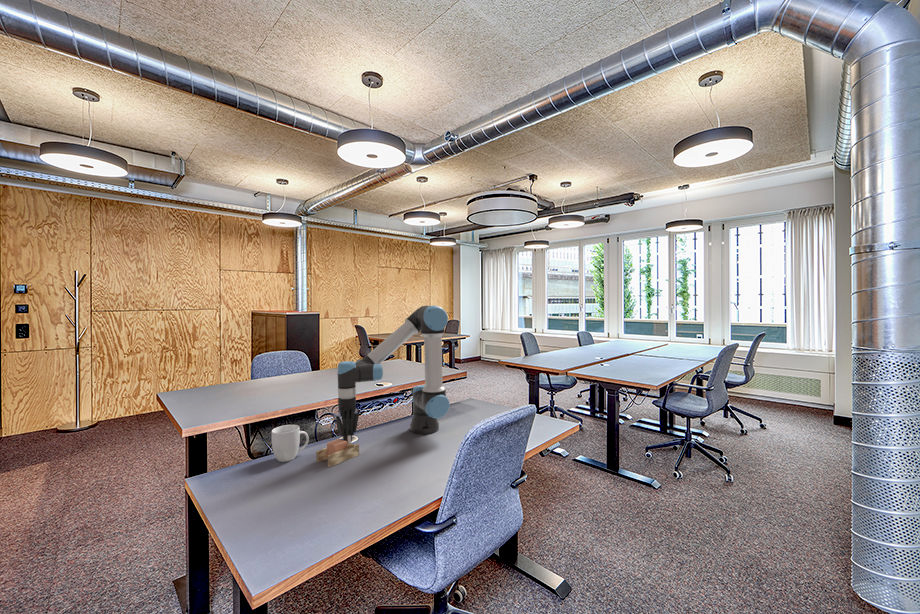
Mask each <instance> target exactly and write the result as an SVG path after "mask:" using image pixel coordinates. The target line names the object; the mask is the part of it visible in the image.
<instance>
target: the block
mask: <svg viewBox="0 0 920 614" xmlns="http://www.w3.org/2000/svg"><path fill="white" fill-rule="evenodd" d="M346 445H348V443H347V441H344V440H343V439H341V438H337V439H334V440H331V441H329V442H327V443H326V447H327V459H326V460H328V455H331V454H333V453H336V452H338V451H341V450H343V449H346Z"/></svg>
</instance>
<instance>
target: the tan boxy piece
mask: <svg viewBox="0 0 920 614" xmlns="http://www.w3.org/2000/svg"><path fill="white" fill-rule="evenodd" d="M359 455H360V444H359V443H356V444H354V443H352V442H351V444H349V445H346V449H343V450H341V451H338V452H336V453H333V454H331V455H328V459H327V446H326V447H324V448H321V449H319V450H316V451H315V457H316V459H315V461H316V463H320V462H323V461H325V460H327V468H331V467H334V466H336V465H338V464H341V463H343V462H346V461H348V460H350V459H353V458H354V457H358V456H359Z"/></svg>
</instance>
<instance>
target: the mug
mask: <svg viewBox="0 0 920 614" xmlns="http://www.w3.org/2000/svg"><path fill="white" fill-rule="evenodd" d="M300 429H301V428H300V425H298V424H285V425H280V426H278V427H274V428H273V429H272V430H271V448H272V452H273V456H274V457H275V458H276V460H277V461H278V462H280V463H285V462H290V461H293V460H294V459H295V458H296V457H297V454H298V452H301V451H303V449H305V448H306V447H307V446H308V445H309V441H310V440H309V439H310V437H309V435H308V433H307V432H306V431H303V430H300ZM302 434H303V435H305V439H306V440H305V443H304V444H303V445H302V447H300V441H301V440H300V439H301V437H300V436H301V435H302Z"/></svg>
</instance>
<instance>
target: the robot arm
mask: <svg viewBox="0 0 920 614" xmlns="http://www.w3.org/2000/svg"><path fill="white" fill-rule="evenodd" d="M448 321H449V318H448V313H447V312H446V310H445V309H444V308H442V307H440V306H438V305H422V306H420V307H418V308H417V309H415V311H413V312H411V314H410V315H409V316H408V317H406V318H405V319H404V322H403V323H402V324H401V325H400V326H399V327H398V328H397V329H395V330H394V331H393V332H392V333H391V334H390V335H388V336H386V338H385V339H384V340H383V341H382V342H380V343H379V344H378V345H377V346H376V347H374V348H373V349H372V351H370V352H369V353H368V354H366V355H365V356H364V357H363V358H361V359H358V360H356V362H355V361H353V360H352V361H351V360H350V361H349V360H347V361H346V360H345V361H341V362H339V363H338V364H337V374H336V375H337V397H338V398H337V406H338V410H337V414H335V415H333V416H332V417H333V419H334V420H335V424H336V429H337V432H338V433H337V434H338V436H340V437H342V440H344V441H347V443H348V445H349V444H351V443H352V442H353V436H354V435H355V433H356V432H357V429H358V428H357V427H358V424H359V423H358V422H359V416H360V413H361V411H362V410H361V409H358V408H357V407H356V404H357V398H356V397H357V396H356V395H357V386H356V385H357V383H366V382H376V381H381V380H382V379H383V378H384V377H383V376H384V370H383V365H382V363H383V362H384V361H385V360H386V359H388V358H389V357H390V356H391V355H392V354H394V352H395V351H397V350H398V349H399V348H400V347H401V346H403V344H405V343H406V342H407V341H408V340H409V339H410V338H412V336H414V335H415V334H419V333H420V335H422V337H423V341H424V342H423V344H424V346H423V349H424V353H423V354H424V356H423V357H424V384H419V385H415V386H413V387H412V392H411V394H412V417H411V421H410V425H409V431H410V432H411V433H413V434H418V435H419V434H420V435H425V434H428V435H429V434H433V433H435V432H437V431H439V430H440V423H439V422H438V419H441V418H443V417H444V416H446V414H447V413H448V412H449V410H450V400H449V398H448V397H447V388H446V387H445V386H444V385H443V346H442V345H443V344H442V343H443V342H442V338H443V337H442V336H444V334H445V333H446V332H445V328H446V327H447V325H448Z"/></svg>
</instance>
